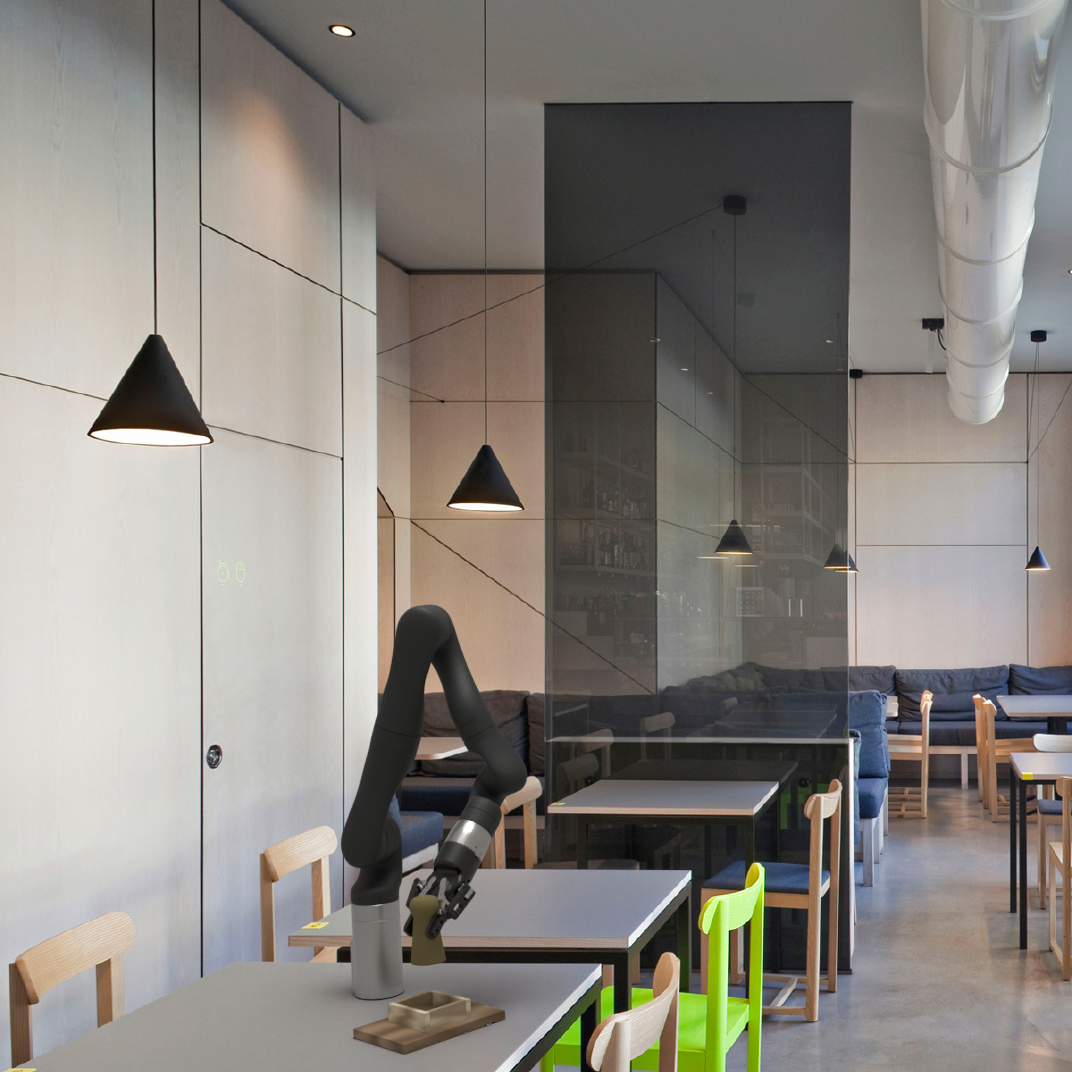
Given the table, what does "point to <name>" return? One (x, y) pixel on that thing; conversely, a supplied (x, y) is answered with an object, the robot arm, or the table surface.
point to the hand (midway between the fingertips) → (418, 935)
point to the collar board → (426, 1021)
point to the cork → (422, 946)
